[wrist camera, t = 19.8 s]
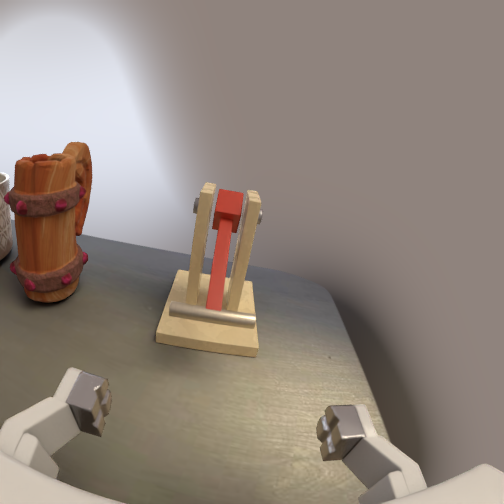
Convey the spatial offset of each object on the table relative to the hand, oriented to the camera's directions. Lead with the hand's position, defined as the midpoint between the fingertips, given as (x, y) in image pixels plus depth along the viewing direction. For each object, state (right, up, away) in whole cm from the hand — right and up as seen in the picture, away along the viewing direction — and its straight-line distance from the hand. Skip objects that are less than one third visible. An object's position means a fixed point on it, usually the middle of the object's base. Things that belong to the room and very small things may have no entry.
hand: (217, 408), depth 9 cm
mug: (-21, +2, +19) cm, 28 cm away
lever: (-1, +5, +15) cm, 16 cm away
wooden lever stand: (-3, -1, +21) cm, 21 cm away
